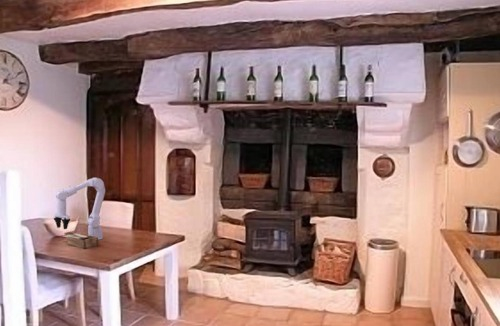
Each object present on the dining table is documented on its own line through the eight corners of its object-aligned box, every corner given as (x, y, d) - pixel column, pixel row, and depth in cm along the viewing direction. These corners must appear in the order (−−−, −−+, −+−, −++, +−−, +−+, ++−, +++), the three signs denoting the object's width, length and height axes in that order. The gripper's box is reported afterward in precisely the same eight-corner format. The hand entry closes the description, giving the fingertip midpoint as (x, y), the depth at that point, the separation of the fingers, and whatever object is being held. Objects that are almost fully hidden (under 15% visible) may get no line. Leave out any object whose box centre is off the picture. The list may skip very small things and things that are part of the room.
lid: (74, 234, 333) (74, 230, 333) (88, 237, 324) (88, 233, 324) (62, 236, 325) (62, 233, 325) (76, 239, 316) (76, 236, 316)
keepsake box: (81, 241, 330) (81, 233, 330) (98, 245, 320) (97, 237, 319) (67, 244, 321) (67, 236, 321) (83, 248, 311) (83, 240, 310)
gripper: (50, 208, 326) (50, 228, 326) (63, 210, 317) (63, 230, 318) (59, 207, 331) (59, 226, 332) (72, 209, 323) (72, 228, 324)
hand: (62, 228), depth 326 cm, fingers open, 7 cm apart
